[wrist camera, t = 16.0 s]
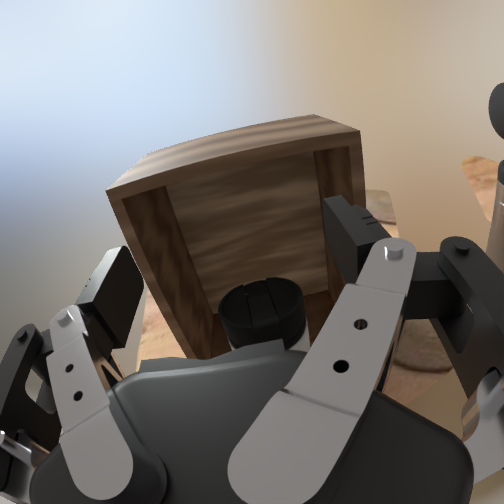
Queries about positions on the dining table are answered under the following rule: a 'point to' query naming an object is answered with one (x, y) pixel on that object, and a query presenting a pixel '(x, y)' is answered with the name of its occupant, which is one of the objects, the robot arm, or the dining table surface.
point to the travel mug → (265, 314)
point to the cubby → (236, 215)
